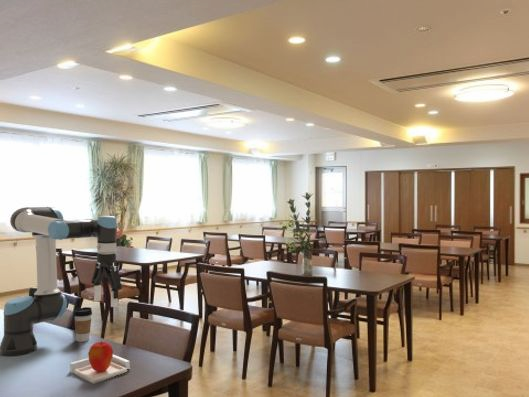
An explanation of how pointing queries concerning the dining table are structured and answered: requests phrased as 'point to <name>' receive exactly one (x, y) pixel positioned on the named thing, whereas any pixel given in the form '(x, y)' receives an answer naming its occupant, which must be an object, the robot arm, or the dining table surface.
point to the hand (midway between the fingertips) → (105, 303)
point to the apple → (100, 356)
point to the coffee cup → (82, 323)
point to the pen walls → (86, 362)
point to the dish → (99, 373)
